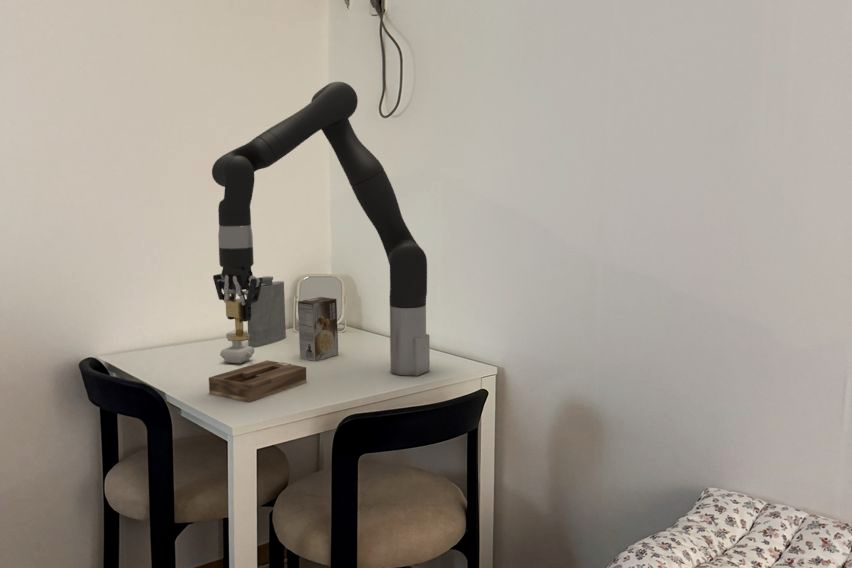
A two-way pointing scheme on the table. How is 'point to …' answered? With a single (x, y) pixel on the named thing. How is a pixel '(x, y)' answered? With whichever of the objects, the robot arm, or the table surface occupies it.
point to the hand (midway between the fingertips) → (238, 319)
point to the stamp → (236, 351)
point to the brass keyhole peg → (236, 320)
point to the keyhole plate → (257, 380)
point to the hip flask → (268, 314)
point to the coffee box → (318, 328)
